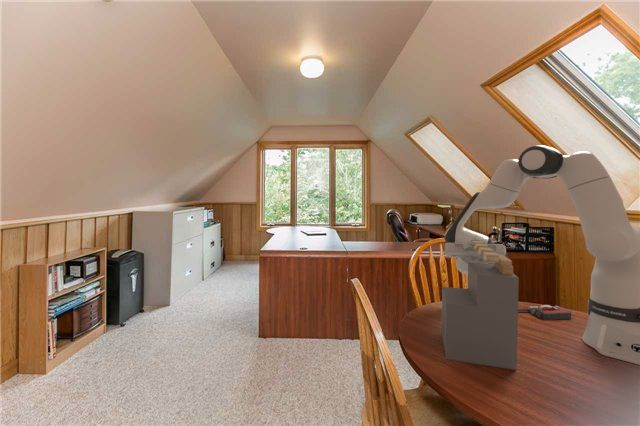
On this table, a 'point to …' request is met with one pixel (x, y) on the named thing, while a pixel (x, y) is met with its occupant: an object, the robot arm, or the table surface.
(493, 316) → the grey stepped block
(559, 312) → the walkie-talkie
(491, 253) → the birch strip
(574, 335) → the table surface
